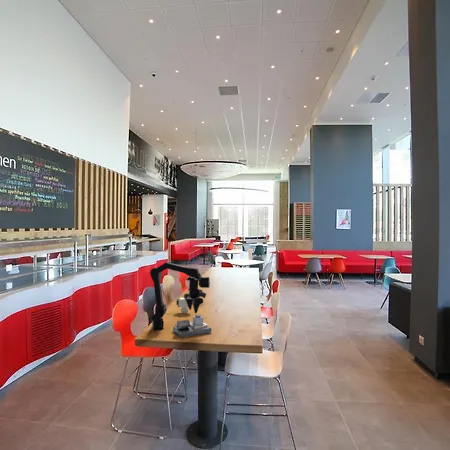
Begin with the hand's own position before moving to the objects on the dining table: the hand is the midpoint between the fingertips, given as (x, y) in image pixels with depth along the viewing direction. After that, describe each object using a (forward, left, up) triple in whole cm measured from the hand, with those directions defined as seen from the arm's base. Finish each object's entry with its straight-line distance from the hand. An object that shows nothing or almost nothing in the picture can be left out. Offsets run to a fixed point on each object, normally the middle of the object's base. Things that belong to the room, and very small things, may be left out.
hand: (193, 311), depth 201 cm
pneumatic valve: (+11, +41, -12) cm, 44 cm away
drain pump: (+2, -4, -9) cm, 10 cm away
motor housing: (-2, -4, -12) cm, 13 cm away
